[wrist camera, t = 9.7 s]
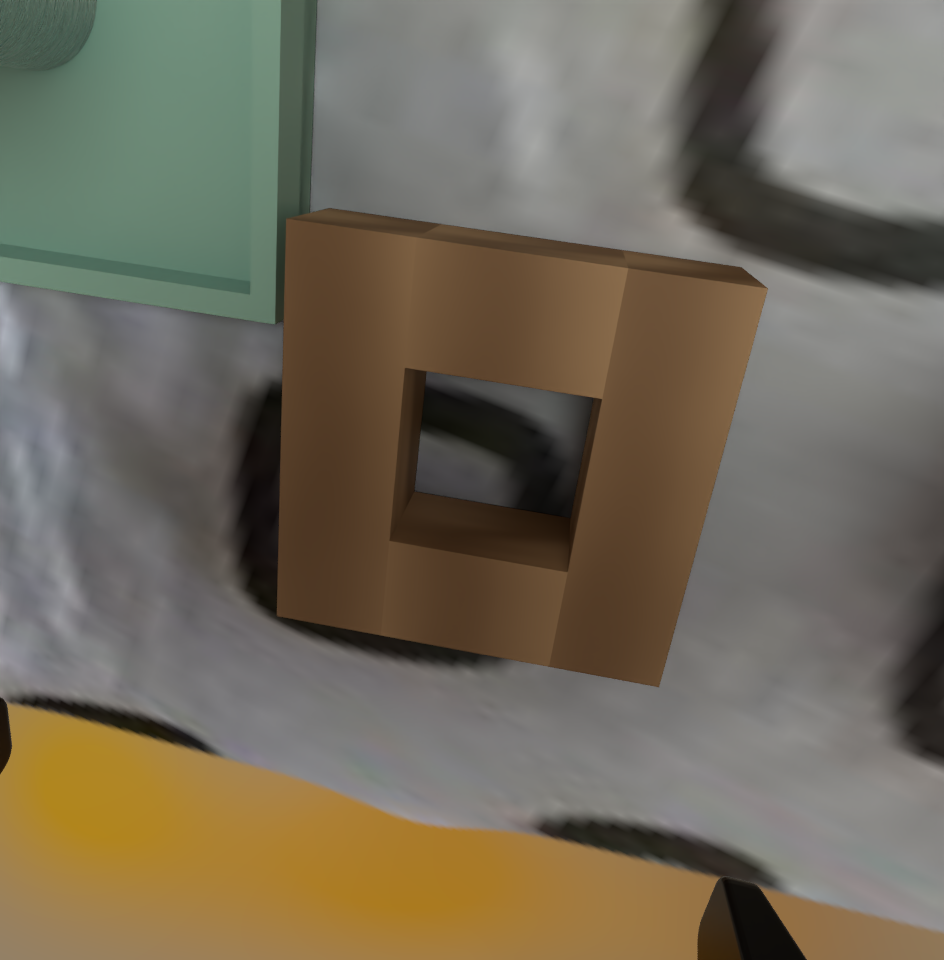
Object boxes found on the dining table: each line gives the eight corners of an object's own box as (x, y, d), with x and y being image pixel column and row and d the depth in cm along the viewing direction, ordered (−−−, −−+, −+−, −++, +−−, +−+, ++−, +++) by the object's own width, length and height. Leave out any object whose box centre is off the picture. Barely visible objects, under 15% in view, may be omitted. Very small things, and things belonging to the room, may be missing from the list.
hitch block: (741, 267, 18) (767, 288, 16) (650, 620, 22) (659, 687, 20) (329, 207, 19) (286, 218, 16) (313, 560, 23) (276, 616, 20)
